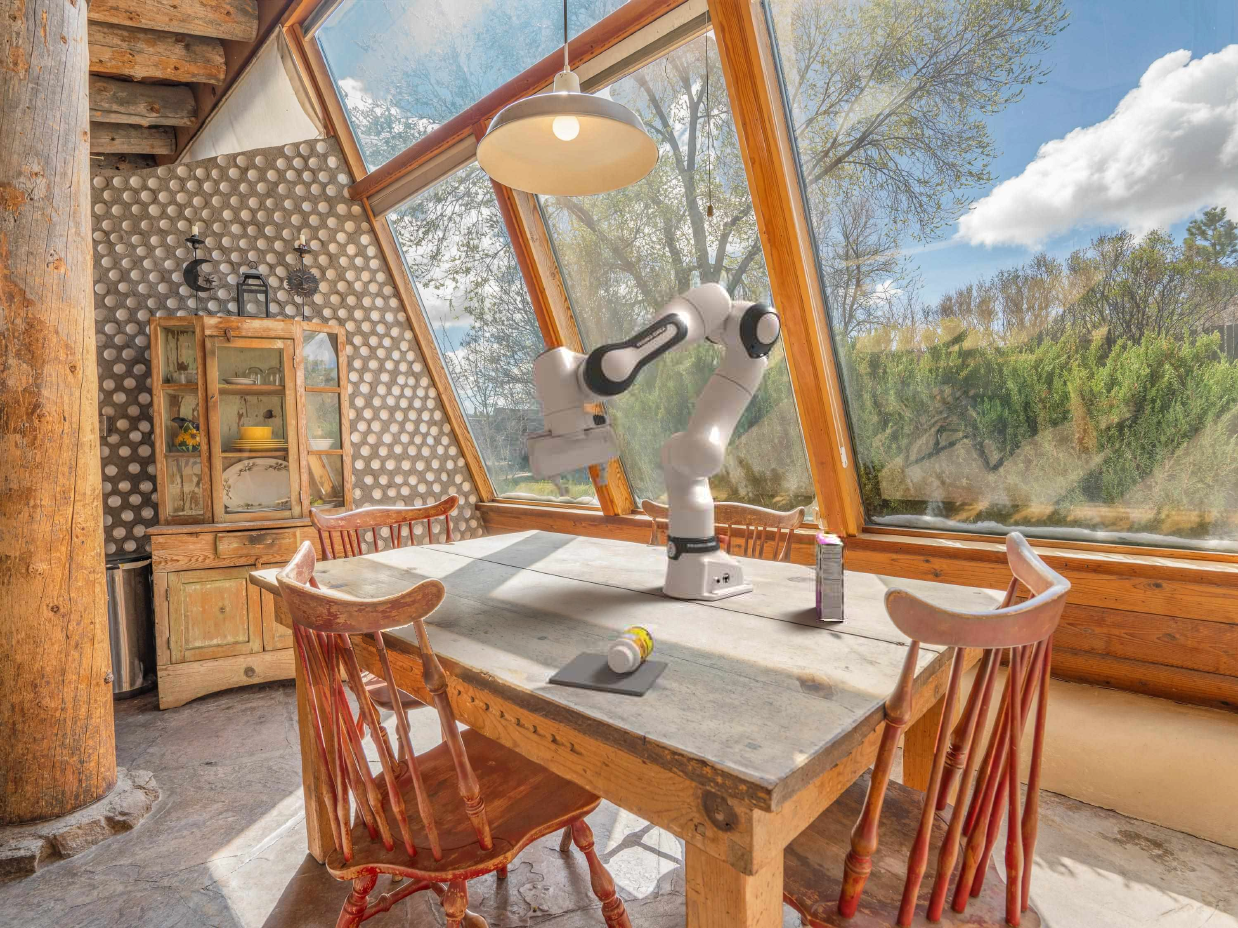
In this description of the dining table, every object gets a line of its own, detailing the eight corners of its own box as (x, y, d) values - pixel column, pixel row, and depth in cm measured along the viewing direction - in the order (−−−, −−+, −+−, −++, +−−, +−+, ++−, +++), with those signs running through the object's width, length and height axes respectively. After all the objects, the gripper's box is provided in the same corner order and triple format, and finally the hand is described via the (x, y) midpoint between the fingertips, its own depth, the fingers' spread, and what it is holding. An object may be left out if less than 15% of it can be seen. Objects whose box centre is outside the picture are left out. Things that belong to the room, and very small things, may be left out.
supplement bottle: (653, 659, 113) (632, 682, 103) (623, 651, 115) (601, 673, 105) (656, 628, 112) (636, 648, 103) (627, 621, 114) (604, 640, 105)
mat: (582, 654, 116) (582, 651, 116) (667, 665, 111) (667, 662, 111) (549, 682, 104) (548, 678, 104) (643, 695, 99) (643, 691, 99)
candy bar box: (813, 606, 145) (814, 533, 144) (837, 607, 144) (837, 534, 142) (819, 621, 134) (819, 542, 133) (844, 622, 133) (845, 543, 132)
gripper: (529, 432, 126) (547, 501, 126) (615, 414, 137) (631, 477, 137) (516, 438, 131) (534, 504, 131) (599, 420, 143) (615, 481, 143)
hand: (584, 490), depth 134 cm, fingers open, 8 cm apart
